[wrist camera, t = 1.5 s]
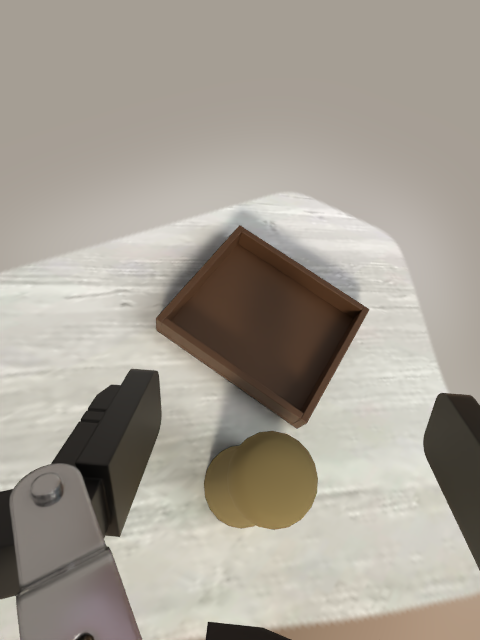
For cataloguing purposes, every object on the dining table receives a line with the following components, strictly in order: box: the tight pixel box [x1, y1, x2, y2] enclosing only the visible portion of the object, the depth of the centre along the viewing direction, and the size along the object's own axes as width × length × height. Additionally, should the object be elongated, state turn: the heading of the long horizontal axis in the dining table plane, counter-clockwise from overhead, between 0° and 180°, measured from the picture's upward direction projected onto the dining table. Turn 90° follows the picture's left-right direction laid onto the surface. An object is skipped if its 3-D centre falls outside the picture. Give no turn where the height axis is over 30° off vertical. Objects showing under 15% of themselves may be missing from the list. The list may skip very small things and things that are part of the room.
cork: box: [204, 431, 318, 530], centre depth 25 cm, size 6×6×11 cm
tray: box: [156, 226, 369, 428], centre depth 36 cm, size 15×13×2 cm
